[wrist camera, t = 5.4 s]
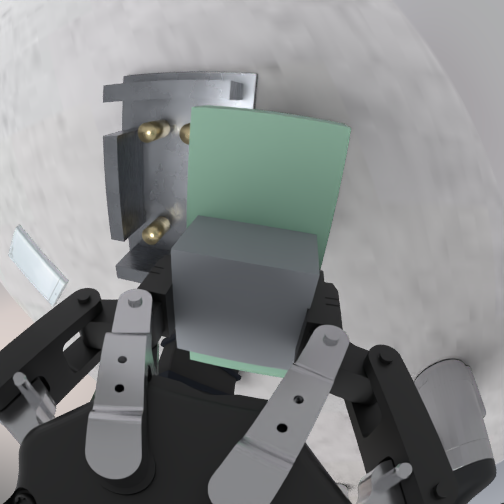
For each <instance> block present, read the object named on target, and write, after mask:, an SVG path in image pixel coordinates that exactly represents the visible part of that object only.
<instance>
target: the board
mask: <svg viewBox="0 0 504 504" xmlns="http://www.w3.org/2000/svg"><path fill="white" fill-rule="evenodd" d="M350 133H351V128H350V127H349V126H347V125H345V124H343V123H338V122H334V121H328V120H323V119H318V118H312V117H307V116H301V115H294V114H288V113H281V112H273V111H266V110H257V109H248V108H238V107H226V106H212V105H205V106H196V107H192V108H191V122H190V138H189V158H188V184H187V229H186V230H185V232H184V233H183V234H182V235H181V237H180V238H179V239H178V241H177V242H176V243H175V244H174V246H173V247H172V248H171V267H172V284H173V301H174V315H175V329H176V340H177V348H179V349H183V350H187V351H190V359H191V360H195V361H199V362H203V363H208V364H212V365H217V366H221V367H226V368H231V369H236V370H241V371H246V372H252V373H257V374H263V375H269V376H275V377H282V378H284V376H285V374H286V373H287V371H288V370H289V368H290V366H291V365H292V364H293V363H294V358H295V349H296V345H297V342H298V339H299V335H300V332H301V329H302V325H303V322H304V318H305V315H306V312H307V308H308V309H310V307H311V304H312V301H313V297H314V293H315V290H316V286H317V283H318V279H319V275H320V274H319V270H320V269H321V265H322V261H323V257H324V253H325V249H326V245H327V241H328V237H329V233H330V229H331V224H332V220H333V216H334V212H335V207H336V203H337V198H338V194H339V189H340V184H341V179H342V175H343V170H344V165H345V160H346V154H347V149H348V144H349V138H350Z"/></svg>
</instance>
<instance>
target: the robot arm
mask: <svg viewBox="0 0 504 504" xmlns="http://www.w3.org/2000/svg"><path fill="white" fill-rule="evenodd" d="M319 274H320V275H319V279H318V283H317V286H316V290H315V293H314V297H313V301H312V304H311V307H310V309H308V308H307V312H306V315H305V318H304V322H303V325H302V329H301V332H300V335H299V339H298V342H297V345H296V349H295V358H294V363H295V364H294V363H293V364H292V365H291V366H290V368H289V370H288V371H287V373H286V374H285V376H284V378H283V379H282V381H281V382H280V384H279V385H278V387H277V389H276V390H275V392H274V393H273V395H272V396H271V398H270V399H269V401H268V400H265V399H259V398H253V397H248V396H242V395H207V394H204V393H202V392H200V391H198V390H196V389H194V388H192V387H190V386H188V385H186V384H184V383H182V382H180V381H176V380H173V379H169V378H166V377H162V376H159V344H158V341H159V339H160V338H161V336H164V337H168V338H170V336H171V334H172V332H173V330H174V328H175V315H174V301H173V284H172V267H171V255H166V256H165V257H163V258H161V259H159V261H158V262H157V263H156V264H155V266H154V267H153V268H152V270H151V271H150V273H149V274H148V275H147V276H146V278H145V279H144V280H143V282H142V283H141V284H140V286H139V287H138V288H137V289H131V290H128V291H126V292H124V293H123V294H121V295H120V297H119V299H118V300H101V298H100V294H99V292H98V291H97V290H95V289H92V288H84V289H80V290H78V291H76V292H74V293H73V294H71V295H70V296H69V297H67V298H66V299H65V300H63V301H62V302H61V303H59V304H58V305H57V306H56V307H54V308H53V309H52V310H50V311H49V312H48V313H46V314H45V315H44V316H43V317H41V318H40V319H39V320H38V321H36V322H35V323H34V324H32V325H31V326H30V327H29V328H27V329H26V330H25V331H24V332H23V333H21V334H20V335H19V336H18V337H16V339H14V340H13V341H12V342H11V343H9V344H8V345H7V346H6V347H4V348H3V349H2V350H1V351H0V423H1V424H2V425H4V426H5V427H6V428H7V429H8V431H9V432H10V433H11V434H12V435H13V437H14V438H15V439H16V440H17V441H18V442H19V444H20V445H21V446H20V450H19V475H18V482H17V487H16V489H15V491H14V493H13V495H12V496H11V497H10V498H9V499H8V500H7V501H6V502H5V503H3V504H352V503H351V502H350V501H349V499H348V498H347V497H346V496H345V494H344V493H343V492H342V491H341V489H340V488H339V487H338V485H337V484H336V483H335V481H334V480H333V479H332V478H331V476H330V475H329V474H328V472H327V471H326V470H325V468H324V467H323V466H322V464H321V463H320V462H319V460H318V459H317V458H316V456H315V455H314V453H313V452H312V451H311V449H310V448H309V447H308V445H307V444H306V442H305V441H306V439H307V437H308V435H309V434H310V432H311V430H312V428H313V426H314V424H315V422H316V420H317V418H318V416H319V413H320V411H321V409H322V407H323V405H324V403H325V401H326V399H327V396H328V394H329V393H330V394H333V395H335V396H338V397H341V398H343V399H344V401H345V404H346V407H347V410H348V414H349V417H350V420H351V423H352V426H353V430H354V433H355V436H356V440H357V443H358V446H359V450H360V453H361V456H362V460H363V463H364V467H365V470H366V475H365V476H364V477H363V478H362V479H361V480H360V482H359V485H358V500H357V503H356V504H467V503H468V502H469V501H470V500H471V499H472V498H473V497H475V496H476V495H477V494H478V493H479V492H481V491H482V490H483V489H484V488H486V487H487V486H488V485H489V484H490V483H491V482H492V481H493V480H494V478H495V477H496V466H495V461H494V458H493V453H492V449H491V445H490V441H489V438H488V434H487V430H486V427H485V423H484V420H483V418H484V417H485V415H486V410H485V407H484V404H483V401H482V398H481V395H480V392H479V389H478V387H477V384H476V381H475V378H474V376H473V373H472V371H471V368H470V366H465V364H464V363H463V362H462V361H460V360H445V361H442V362H439V363H437V364H434V365H433V366H431V367H429V368H428V369H426V370H425V371H423V372H422V373H421V374H420V375H419V376H418V377H417V379H416V380H415V382H413V380H412V378H411V376H410V374H409V372H408V370H407V368H406V366H405V364H404V362H403V360H402V358H401V356H400V354H399V353H398V352H397V351H396V350H395V349H393V348H391V347H389V346H386V345H376V346H374V347H372V348H371V349H370V351H368V350H365V349H362V348H360V347H357V346H355V345H353V344H352V343H351V342H349V337H348V335H347V334H346V332H345V331H343V329H342V320H341V311H340V303H339V295H338V290H337V289H336V288H335V286H334V285H333V284H332V283H326V282H324V274H323V271H321V270H319ZM78 332H79V333H80V335H81V336H80V337H79V338H78V339H77V340H76V341H75V342H73V343H72V344H71V345H70V346H69V347H68V348H67V349H66V350H64V351H63V347H64V345H65V343H66V342H67V341H68V340H70V339H71V338H72V337H73V336H74V335H75V334H77V333H78ZM99 362H100V365H99V371H98V378H97V384H96V391H95V399H94V400H93V401H91V402H89V403H86V404H85V405H82V406H80V407H78V408H76V409H74V410H72V411H69V412H67V413H65V414H63V415H61V416H59V417H56V418H55V416H54V414H55V412H56V405H57V404H58V403H59V402H60V401H61V400H62V399H63V398H64V397H65V396H66V395H67V394H68V393H69V392H70V391H71V390H72V389H73V388H74V387H75V386H76V385H77V383H79V382H80V381H81V379H83V378H84V377H85V376H86V375H87V374H88V373H89V372H90V371H91V370H92V369H93V368H94V367H95V366H96V365H97V364H98V363H99ZM501 504H504V503H501Z"/></svg>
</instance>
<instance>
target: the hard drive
mask: <svg viewBox="0 0 504 504" xmlns="http://www.w3.org/2000/svg"><path fill="white" fill-rule="evenodd" d="M8 255H9V257H10V258H11V259H12V261H13V262H14V263H15V264H16V266H17V267H18V268H19V269H20V270H21V272H22V273H23V274H24V275H25V276H26V277H27V279H28V280H29V281H30V282H31V283H32V284H33V286H34V287H35V288H36V289H37V290H38V291H39V292H40V293H41V294H42V295H43V297H44V298H45V299H46V300H47V301H48V302H49V303H50V304H51V305H52V306H54V305H55V304H56V303H57V301H58V299H59V297H60V295H61V294H62V292H63V290H64V288H65V287H66V285H67V283H68V281H69V280H68V279H67V278H66V277H65V276H64V275H63V274H62V273H61V272H60V271H59V270H58V269H57V268H56V266H55V265H54V264H53V263H52V262H51V261H50V260H49V259H48V258H47V256H46V255H45V254H44V253H43V252H42V251H41V250H40V248H39V247H38V246H37V245H36V244H35V243H34V241H33V240H32V239H31V238H30V237H29V235H28V234H27V233H26V232H25V230H24V229H23V228H22V227H21V225H19V226H17V227H16V229H15V231H14V235H13V239H12V242H11V246H10V250H9V254H8Z"/></svg>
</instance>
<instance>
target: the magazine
mask: <svg viewBox="0 0 504 504" xmlns="http://www.w3.org/2000/svg"><path fill="white" fill-rule="evenodd" d="M161 346H162V347H164V349H163V351H162V354H161V357H160V359H159V376H162V377H166V378H169V379H173V380H176V381H180V382H182V383H184V384H186V385H188V386H190V387H192V388H194V389H196V390H198V391H200V392H202V393H204V394H207V395H234V389H235V383H236V381H238V380H240V379H241V376H240V375H239V374H238V370H236V369H231V368H226V367H221V366H217V365H212V364H208V363H203V362H199V361H195V360H191V359H190V351H187V350H183V349H179V348H177V340H176V329H175V328H174V330H173V332H172V334H171V336H170V338H168V337H166V338H164V339H163V340H162V343H161Z"/></svg>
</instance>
